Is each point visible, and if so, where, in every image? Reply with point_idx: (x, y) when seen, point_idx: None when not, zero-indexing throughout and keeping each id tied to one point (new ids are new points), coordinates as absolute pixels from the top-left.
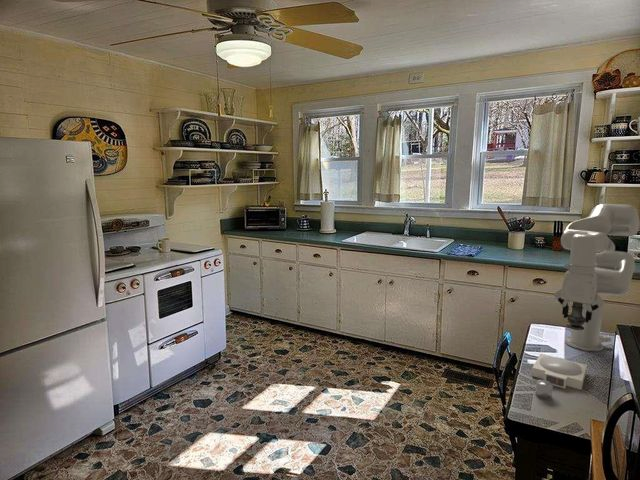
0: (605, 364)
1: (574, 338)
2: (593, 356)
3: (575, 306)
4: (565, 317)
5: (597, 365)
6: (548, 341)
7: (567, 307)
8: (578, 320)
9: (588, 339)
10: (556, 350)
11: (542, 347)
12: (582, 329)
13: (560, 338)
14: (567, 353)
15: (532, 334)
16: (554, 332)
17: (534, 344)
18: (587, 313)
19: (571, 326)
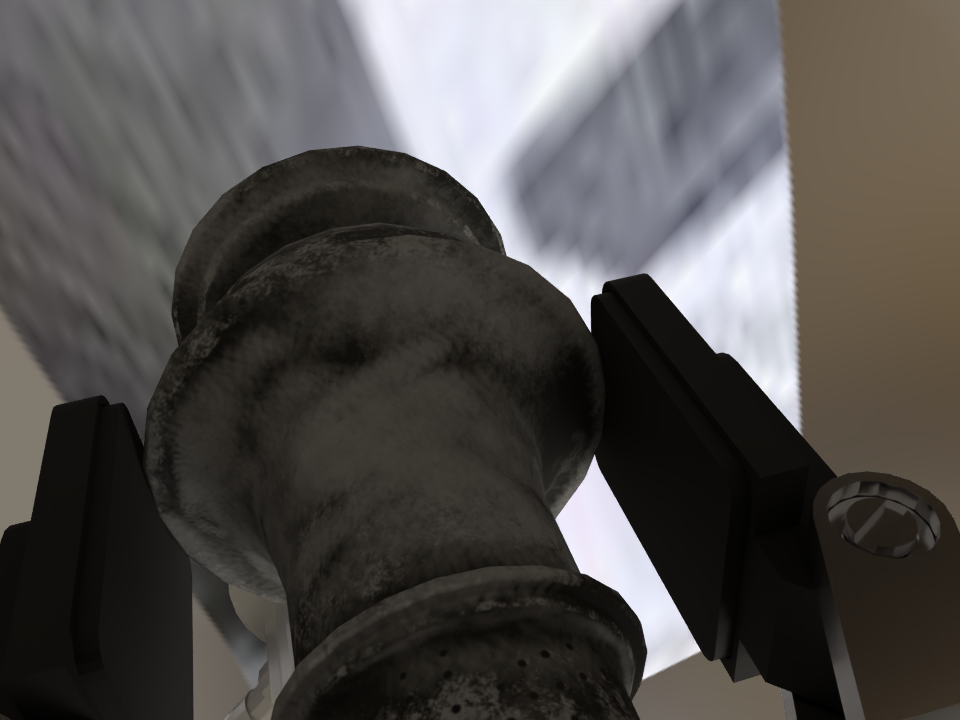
0: (10, 309)
1: None
2: None
3: (511, 661)
4: (605, 291)
5: (38, 207)
6: None
7: (725, 542)
8: (246, 290)
9: None
10: (518, 230)
11: (651, 182)
12: (176, 281)
13: (579, 514)
14: None
15: (791, 400)
16: (650, 575)
17: (734, 188)
18: (36, 616)
19: (396, 217)
